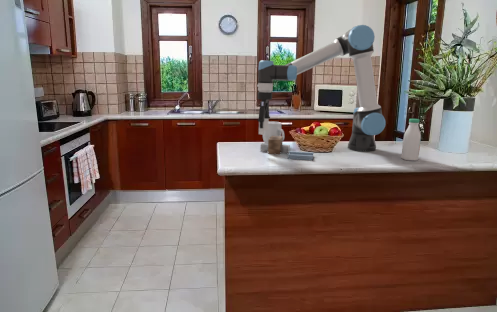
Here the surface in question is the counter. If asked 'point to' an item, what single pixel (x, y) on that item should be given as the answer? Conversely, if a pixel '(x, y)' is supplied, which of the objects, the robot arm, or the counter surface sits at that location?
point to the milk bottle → (411, 141)
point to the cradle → (300, 155)
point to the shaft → (283, 149)
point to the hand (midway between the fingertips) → (263, 132)
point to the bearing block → (274, 144)
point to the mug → (273, 131)
